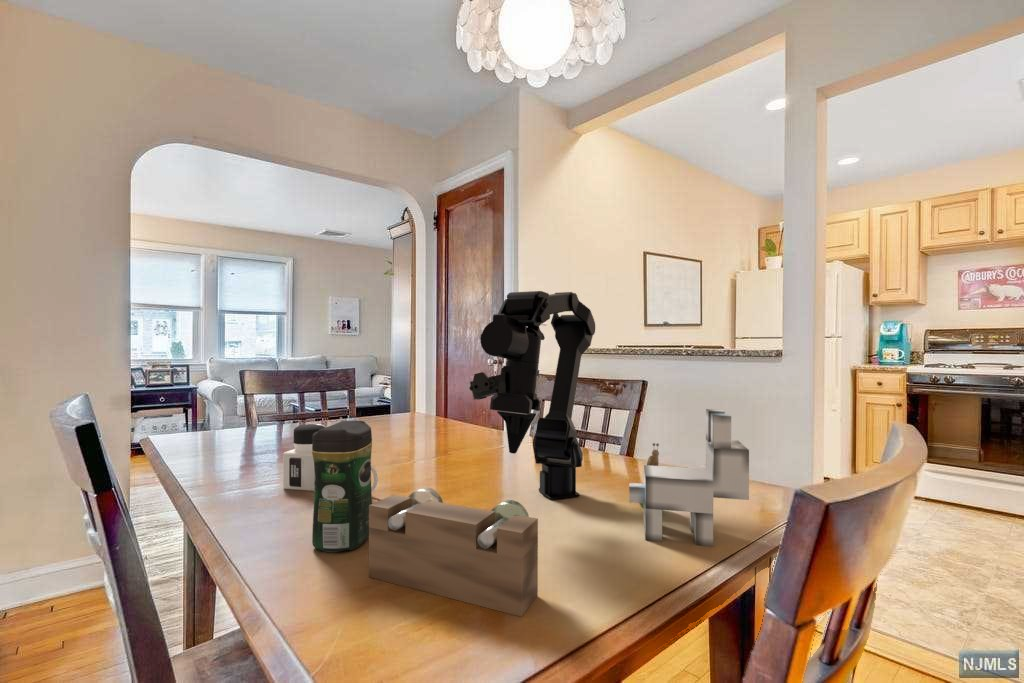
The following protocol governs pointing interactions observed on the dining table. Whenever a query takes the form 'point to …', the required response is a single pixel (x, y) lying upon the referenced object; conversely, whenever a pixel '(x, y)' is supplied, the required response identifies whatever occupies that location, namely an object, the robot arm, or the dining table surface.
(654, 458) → the snail figurine
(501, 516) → the knob sage
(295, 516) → the dining table surface
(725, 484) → the toy llama
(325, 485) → the coffee jar
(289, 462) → the container
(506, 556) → the block
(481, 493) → the dining table surface
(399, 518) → the silver rounded piece
